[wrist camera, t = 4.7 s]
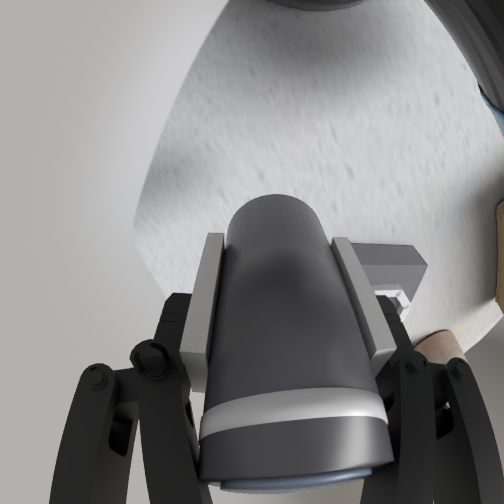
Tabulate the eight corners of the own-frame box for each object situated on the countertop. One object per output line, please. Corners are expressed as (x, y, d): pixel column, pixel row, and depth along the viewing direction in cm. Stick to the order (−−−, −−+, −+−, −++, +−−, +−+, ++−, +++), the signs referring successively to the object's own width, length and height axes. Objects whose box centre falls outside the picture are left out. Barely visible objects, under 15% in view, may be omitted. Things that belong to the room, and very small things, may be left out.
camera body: (340, 242, 29) (358, 281, 23) (412, 245, 29) (438, 279, 24) (317, 327, 37) (325, 366, 31) (379, 323, 37) (393, 358, 32)
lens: (225, 191, 13) (173, 474, 3) (329, 196, 14) (437, 446, 3) (227, 274, 16) (207, 492, 6) (314, 276, 17) (354, 484, 6)
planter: (454, 320, 38) (476, 359, 30) (450, 347, 44) (466, 382, 36) (405, 345, 41) (422, 389, 33) (407, 369, 47) (420, 406, 39)
